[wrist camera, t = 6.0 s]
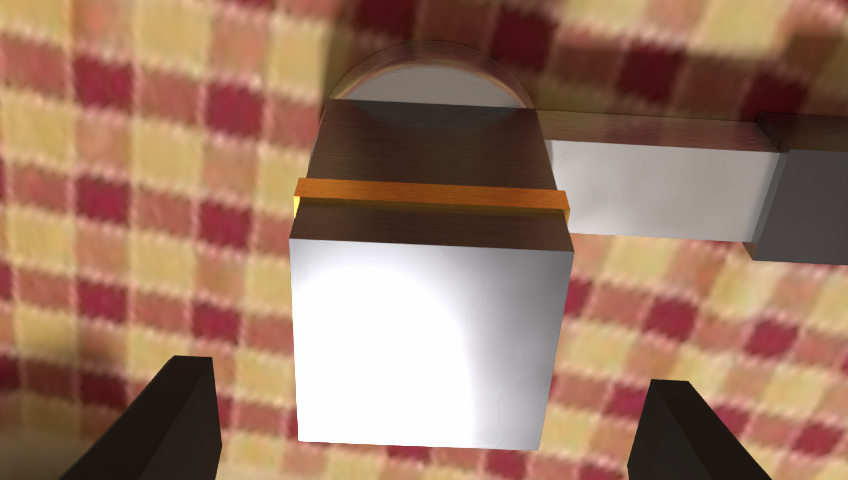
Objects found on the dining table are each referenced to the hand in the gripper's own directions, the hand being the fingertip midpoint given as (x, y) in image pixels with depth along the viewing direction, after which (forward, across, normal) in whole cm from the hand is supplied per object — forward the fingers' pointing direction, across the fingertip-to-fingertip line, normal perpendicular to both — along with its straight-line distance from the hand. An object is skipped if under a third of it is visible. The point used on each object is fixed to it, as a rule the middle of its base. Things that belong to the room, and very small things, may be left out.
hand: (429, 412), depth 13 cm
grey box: (+8, 0, 0) cm, 8 cm away
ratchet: (+10, -6, 0) cm, 11 cm away
